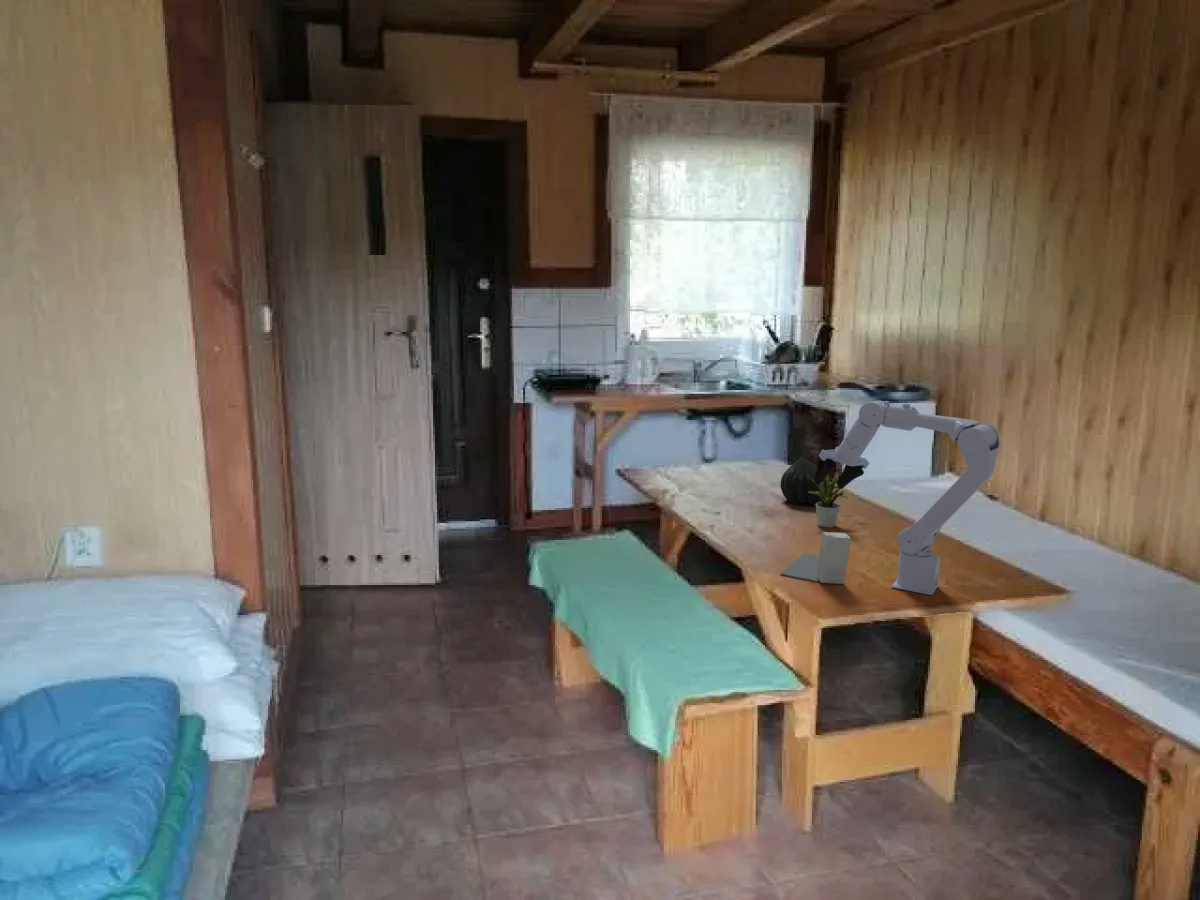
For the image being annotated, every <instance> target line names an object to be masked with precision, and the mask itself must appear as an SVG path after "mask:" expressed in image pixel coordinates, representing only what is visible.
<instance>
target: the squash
mask: <svg viewBox="0 0 1200 900" xmlns="http://www.w3.org/2000/svg"><path fill="white" fill-rule="evenodd" d="M816 470H817V465H816V464H815V463H813V462H811V461H810V460H809V459H806V458H805V457H800V458H798V459H796V461H795V462H794V463H792V464H791V465H790V466H789V467H788V468H787V469H786V470H785V471H784V473H783V474H782V476H781V479H780V489H781V493H782V495H783V496H784V498H785V499H786V500H787V501H789V502H791V503H792V504H794V505H795V504H796V505H797V504H801V503H802V504H804V503H806V502H807V503H809V504H811V505H813V504H814V505H815V506H816V503H818V502H821V499H820V497H819V496H818V495H816V494H813V493H808V492H810V491H813V492H815V491H818V492H820V490H819V488H818V487H817V485H816V484H815V483H814V481H813V480H814V477H815V474H816ZM812 479H813V480H812ZM826 479H827V476H826V477H825V479H824V480H823V483H824V487H825V491H826V494H827V480H826ZM819 487H820V486H819ZM814 505H813V506H814Z"/></svg>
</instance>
